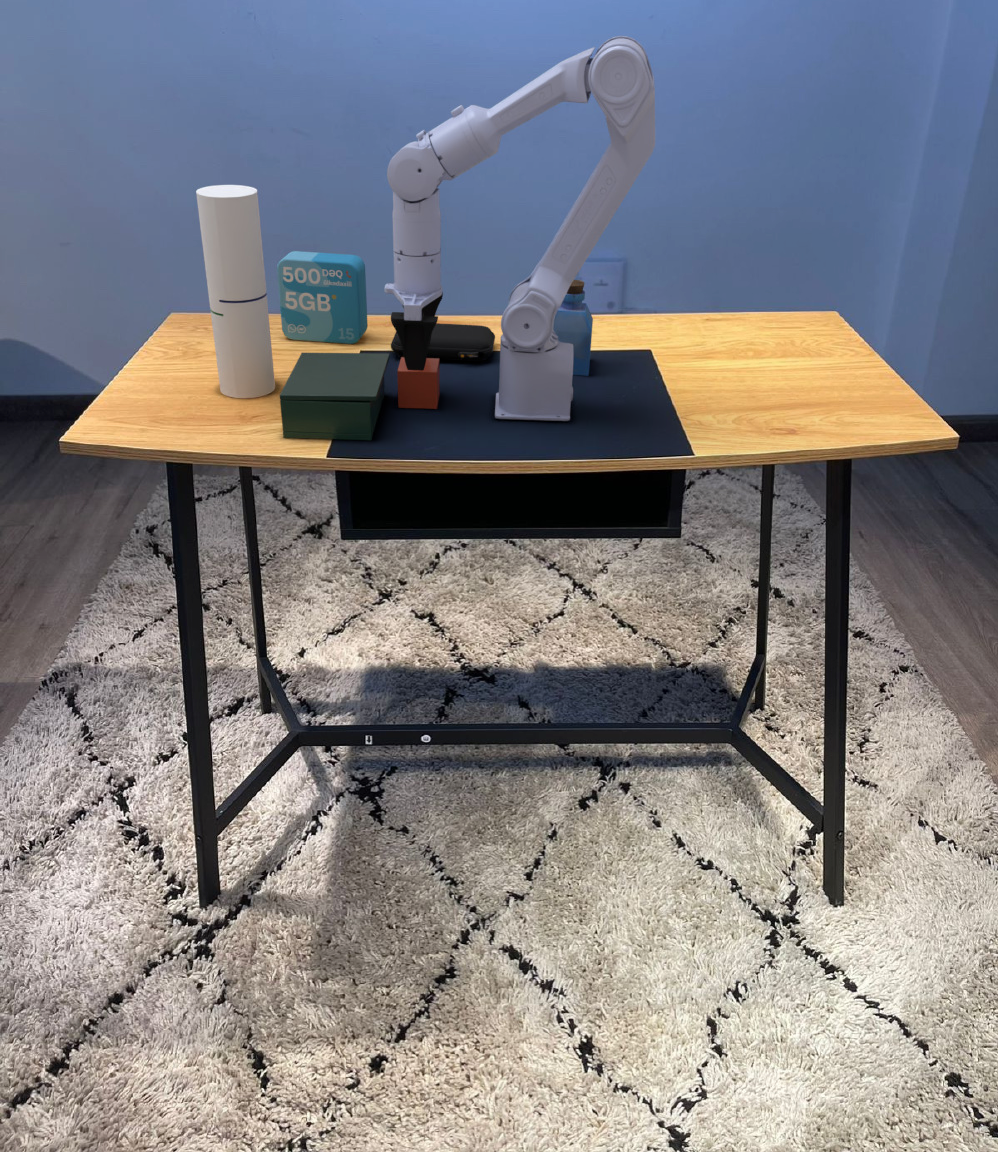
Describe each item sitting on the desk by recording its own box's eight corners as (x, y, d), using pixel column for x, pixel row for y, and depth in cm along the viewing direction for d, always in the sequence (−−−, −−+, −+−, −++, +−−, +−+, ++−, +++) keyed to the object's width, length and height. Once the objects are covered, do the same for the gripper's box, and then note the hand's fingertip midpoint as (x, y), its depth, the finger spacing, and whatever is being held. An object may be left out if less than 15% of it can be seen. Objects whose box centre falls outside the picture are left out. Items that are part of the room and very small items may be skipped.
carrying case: (388, 363, 145) (491, 368, 144) (387, 342, 143) (492, 347, 143) (398, 338, 154) (495, 342, 153) (397, 318, 152) (496, 322, 152)
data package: (282, 339, 152) (275, 258, 146) (291, 329, 156) (285, 249, 149) (361, 345, 151) (357, 263, 144) (368, 335, 155) (365, 255, 148)
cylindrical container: (262, 400, 132) (242, 199, 119) (210, 395, 133) (185, 194, 120) (283, 381, 138) (266, 187, 125) (233, 375, 139) (211, 183, 126)
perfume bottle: (589, 360, 148) (596, 277, 142) (588, 375, 143) (595, 290, 137) (547, 357, 149) (551, 275, 142) (544, 372, 143) (549, 287, 137)
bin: (384, 394, 135) (383, 359, 132) (371, 440, 123) (369, 403, 120) (304, 392, 135) (302, 357, 132) (283, 437, 123) (279, 400, 120)
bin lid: (389, 357, 132) (389, 353, 132) (376, 401, 120) (376, 396, 120) (302, 356, 132) (301, 352, 132) (279, 399, 120) (279, 395, 120)
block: (439, 394, 136) (439, 358, 133) (437, 409, 131) (436, 372, 129) (401, 393, 136) (401, 357, 133) (398, 407, 131) (397, 370, 129)
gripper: (390, 234, 129) (392, 338, 136) (376, 265, 117) (380, 378, 124) (445, 236, 129) (445, 340, 136) (438, 267, 117) (438, 380, 124)
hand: (418, 358), depth 130 cm, fingers open, 7 cm apart
